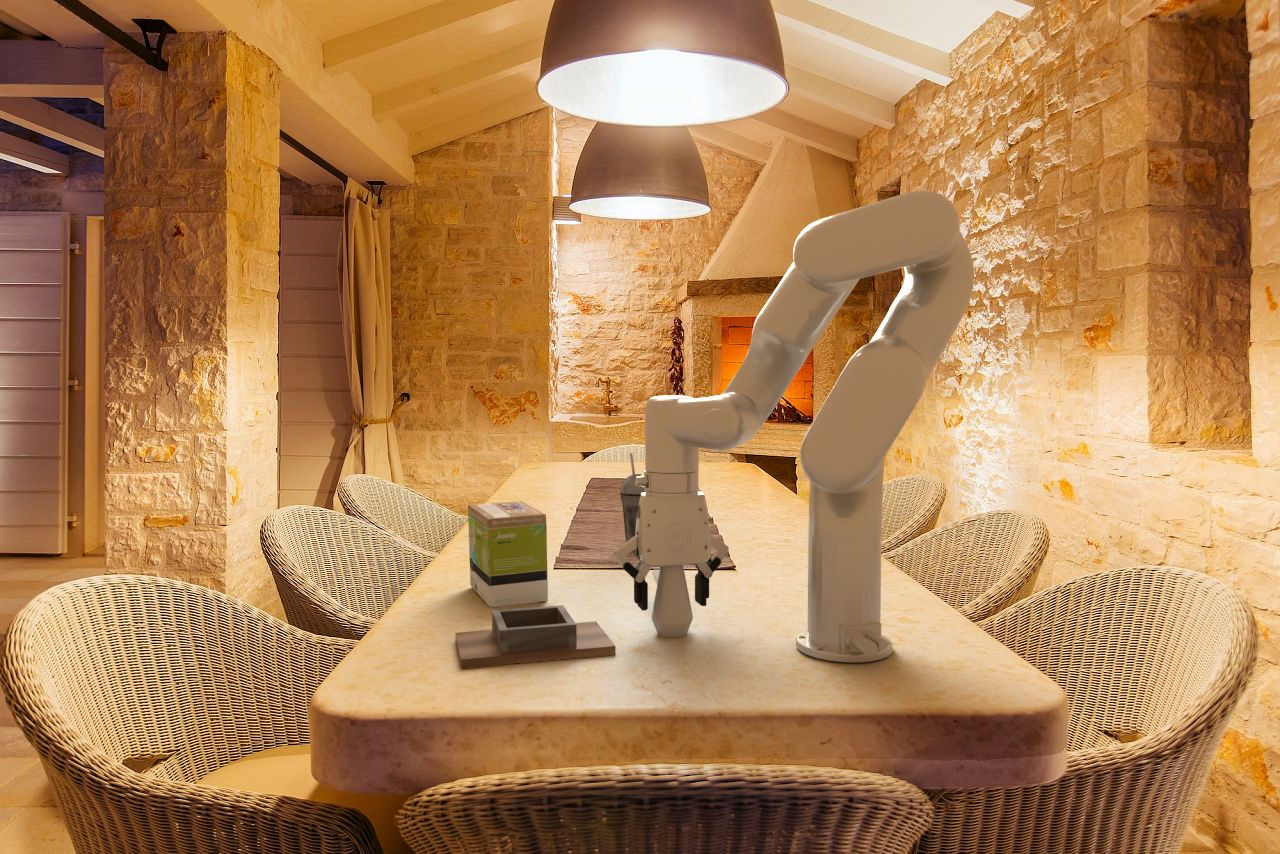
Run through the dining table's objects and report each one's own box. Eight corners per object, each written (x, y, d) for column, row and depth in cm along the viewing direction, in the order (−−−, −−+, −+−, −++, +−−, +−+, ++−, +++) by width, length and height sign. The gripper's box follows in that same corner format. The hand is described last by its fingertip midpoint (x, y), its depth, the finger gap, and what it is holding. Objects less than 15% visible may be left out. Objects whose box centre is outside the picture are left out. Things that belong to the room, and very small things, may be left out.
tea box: (468, 588, 156) (466, 503, 155) (524, 582, 159) (523, 499, 159) (488, 609, 142) (487, 516, 141) (549, 602, 146) (548, 511, 145)
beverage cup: (654, 551, 186) (654, 454, 184) (619, 551, 186) (618, 454, 185) (654, 544, 193) (654, 451, 192) (620, 544, 193) (620, 451, 192)
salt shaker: (689, 641, 124) (689, 548, 124) (648, 638, 126) (648, 546, 125) (695, 629, 130) (695, 540, 129) (656, 626, 131) (656, 538, 130)
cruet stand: (615, 654, 118) (615, 623, 118) (461, 668, 113) (460, 636, 113) (596, 629, 130) (595, 601, 130) (455, 641, 125) (454, 611, 125)
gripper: (618, 489, 121) (618, 617, 122) (739, 484, 125) (738, 608, 126) (605, 482, 128) (606, 603, 129) (720, 478, 132) (720, 595, 133)
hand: (671, 605), depth 128 cm, fingers open, 8 cm apart
